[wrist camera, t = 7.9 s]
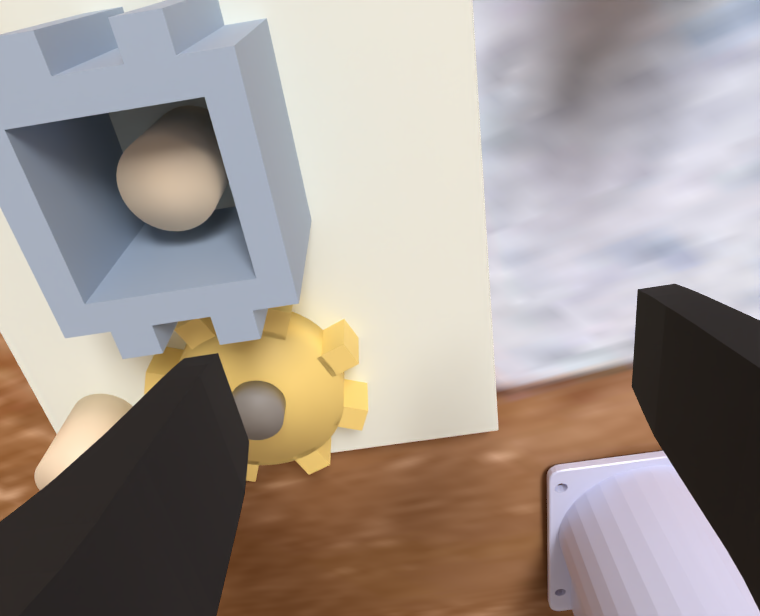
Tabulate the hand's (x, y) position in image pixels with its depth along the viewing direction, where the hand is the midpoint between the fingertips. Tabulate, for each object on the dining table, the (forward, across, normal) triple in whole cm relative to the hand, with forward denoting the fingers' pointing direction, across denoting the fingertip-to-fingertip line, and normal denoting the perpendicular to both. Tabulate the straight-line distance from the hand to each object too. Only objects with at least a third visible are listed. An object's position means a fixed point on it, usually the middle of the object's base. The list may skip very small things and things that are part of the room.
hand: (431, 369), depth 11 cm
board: (+10, +6, +1) cm, 11 cm away
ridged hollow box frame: (+9, +6, -2) cm, 11 cm away
